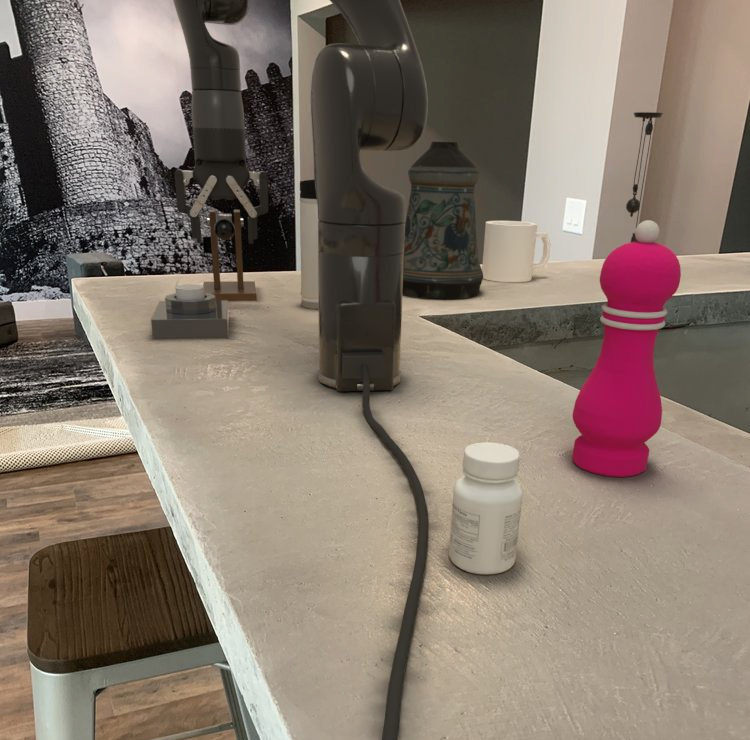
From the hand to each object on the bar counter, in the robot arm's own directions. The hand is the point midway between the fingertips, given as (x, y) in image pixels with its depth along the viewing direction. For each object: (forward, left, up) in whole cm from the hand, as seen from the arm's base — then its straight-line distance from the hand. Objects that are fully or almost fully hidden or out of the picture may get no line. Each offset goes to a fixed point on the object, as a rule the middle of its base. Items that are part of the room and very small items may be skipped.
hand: (225, 242), depth 119 cm
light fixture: (+36, -87, -10) cm, 95 cm away
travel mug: (0, -15, -10) cm, 18 cm away
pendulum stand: (+11, 0, -10) cm, 15 cm away
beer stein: (+14, -37, -10) cm, 41 cm away
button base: (-15, +5, -10) cm, 19 cm away
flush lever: (+5, 0, 0) cm, 5 cm away
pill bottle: (-85, -17, -10) cm, 87 cm away
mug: (+27, -57, -10) cm, 64 cm away
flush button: (-15, +5, -6) cm, 17 cm away
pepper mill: (-70, -33, -10) cm, 78 cm away
